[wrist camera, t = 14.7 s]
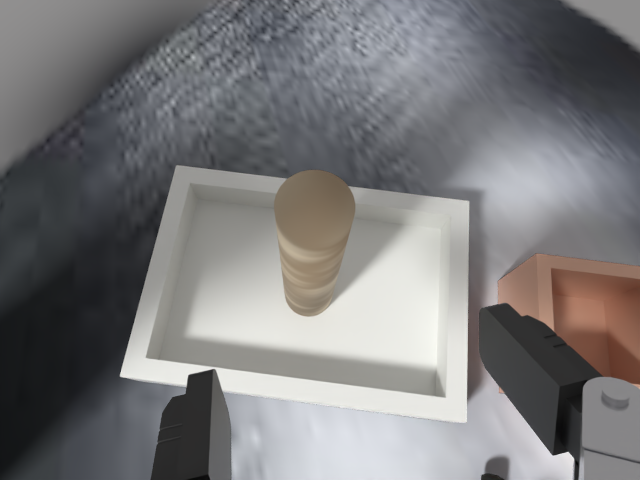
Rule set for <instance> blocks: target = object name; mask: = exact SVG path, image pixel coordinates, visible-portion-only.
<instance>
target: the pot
mask: <svg viewBox="0 0 640 480" xmlns="http://www.w3.org/2000/svg"><path fill="white" fill-rule="evenodd" d="M501 303H508V304H509V305H510V306H511V307H512V308H514V309H515V310H516V311H517V312H518V313H519V314H520V315H521V316H525V315H529V316H531V317H533V318H535V319H537V320H539V321H542V322H544V323H545V324H546V325H547V326H548V327H550V328H551V329H552V330H553V331H554V332H555V333H556V334H557V336H559V337H561V338H562V339H563V340H564V341H565V342H566V343H567V345H569V346H570V347H572V348H573V349H574V350H575V351H576V352H577V353H578V354H579V355H580V356H581V357H583V358H584V359H585V360H586V361H587V362H588V363H589V364H590V365H591V366H592V367H594V368H595V369H596V370H597V371H598V372H599V373H600V374H601V375H602V376H603V377H612V378H617V379H621V380H624V381H627V382H629V383H631V384H633V385H635V386H636V387H638V388H639V389H640V266H634V265H626V264H618V263H610V262H602V261H594V260H586V259H578V258H570V257H562V256H554V255H546V254H538V253H536V254H535V255H533V256H532V257H531V258H529V259H528V260H526V261H525V262H524V263H522V264H521V265H520V266H518V267H517V268H515V269H514V270H513V271H511V272H510V273H508V274H507V275H506V276H504V277H503V278H501V279H500V280H499V281H498V304H501ZM499 393H504V392H503V391H502V389H501V388H500V387H499ZM504 394H505V393H504Z"/></svg>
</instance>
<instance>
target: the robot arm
mask: <svg viewBox="0 0 640 480" xmlns="http://www.w3.org/2000/svg"><path fill="white" fill-rule="evenodd" d="M479 351H480V356H481V360H482V362H483V364H484V366H485V368H486V370H487V371H488V372H489V374H490V375H491V376H492V378H493V379H494V380H495V381H496V383H497V384H498V385H499V387H500V388H501V389H502V391H503V392H504V393H505V394H506V396H507V397H508V398H509V400H510V401H511V402H512V403H513V405H514V406H515V407H516V409H517V410H518V411H519V413H520V414H521V415H522V416H523V418H524V419H525V420H526V422H527V423H528V424H529V425H530V427H531V428H532V429H533V431H534V432H535V433H536V435H537V436H538V437H539V438H540V440H541V441H542V442H543V444H544V445H545V446H546V448H547V449H548V450H549V451H550V453H551V454H552V455H553V456H554V455H557V454H561V453H565V452H569V453H570V454H571V455H572V456H573V458H574V464H573V480H640V389H639V388H638V387H636V386H635V385H633V384H631V383H629V382H627V381H624V380H621V379H617V378H612V377H603V376H602V375H601V374H600V373H599V372H598V371H597V370H596V369H595V368H594V367H592V366H591V365H590V364H589V363H588V362H587V361H586V360H585V359H584V358H583V357H581V356H580V355H579V354H578V353H577V352H576V351H575V350H574V349H573V348H572V347H570V346H569V345H567V343H566V342H565V341H564V340H563V339H562V338H561V337H559V336H557V334H556V333H555V332H554V331H553V330H552V329H551V328H550V327H548V326H547V325H546V324H545V323H544V322H542V321H539V320H537V319H535V318H533V317H531V316H529V315H525V316H521V315H520V314H519V313H518V312H517V311H516V310H515V309H514V308H512V307H511V306H510V305H509V304H508V303H501V304H497V305H493V306H488V307H484V308H481V310H480V313H479ZM151 480H231V424H230V417H229V412H228V408H227V405H226V401H225V398H224V395H223V391H222V388H221V385H220V381H219V378H218V375H217V372H216V370H215V369H211V370H207V371H202V372H198V373H194V374H189V375H188V379H187V388H186V394H184V395H180V396H176V397H172V399H171V400H170V402H169V403H168V405H167V406H166V408H165V409H164V411H163V413H162V418H161V424H160V431H159V435H158V444H157V447H156V452H155V458H154V464H153V470H152V475H151Z"/></svg>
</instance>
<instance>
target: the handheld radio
mask: <svg viewBox="0 0 640 480" xmlns="http://www.w3.org/2000/svg"><path fill="white" fill-rule="evenodd" d="M481 480H503V479H502V478H500V477H499V476H497V475H493V474H483V475H482V476H481Z"/></svg>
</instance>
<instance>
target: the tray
mask: <svg viewBox="0 0 640 480" xmlns="http://www.w3.org/2000/svg"><path fill="white" fill-rule="evenodd" d="M286 180H287V179H286V178H277V177H269V176H261V175H253V174H245V173H237V172H229V171H220V170H212V169H204V168H196V167H188V166H180V165H176V168H175V172H174V175H173V179H172V183H171V187H170V190H169V194H168V198H167V202H166V205H165V209H164V213H163V216H162V220H161V224H160V228H159V231H158V235H157V239H156V243H155V246H154V250H153V254H152V257H151V261H150V265H149V269H148V272H147V276H146V280H145V284H144V287H143V291H142V295H141V298H140V302H139V306H138V310H137V313H136V317H135V321H134V325H133V328H132V332H131V336H130V339H129V343H128V347H127V351H126V354H125V358H124V362H123V366H122V369H121V373H120V377H124V378H128V379H133V380H137V381H143V382H151V383H158V384H166V385H173V386H181V387H187V379H188V375H189V374H194V373H198V372H202V371H207V370H211V369H215V370H216V372H217V375H218V378H219V381H220V385H221V388H222V391H223V392H226V393H233V394H241V395H248V396H256V397H263V398H271V399H278V400H286V401H293V402H301V403H308V404H316V405H323V406H331V407H338V408H346V409H353V410H361V411H368V412H376V413H383V414H391V415H398V416H406V417H413V418H421V419H428V420H436V421H443V422H455V423H467V352H468V269H469V201H465V200H457V199H449V198H440V197H432V196H424V195H416V194H408V193H400V192H392V191H383V190H375V189H367V188H359V187H351V186H348V187H349V188H350V190H351V191H352V194H353V196H354V200H355V215H354V219H353V223H352V226H351V230H350V234H349V237H348V241H347V245H346V248H345V252H344V256H343V259H342V263H341V266H340V270H339V274H338V277H337V281H336V285H335V288H334V292H333V296H332V299H331V302H330V304H329V306H328V307H327V309H326V310H325V311H323V312H322V313H320V314H318V315H316V316H310V317H307V316H301V315H299V314H297V313H295V312H294V311H293V310H291V308H290V307H289V306H288V304H287V302H286V299H285V293H284V285H283V277H282V269H281V261H280V253H279V245H278V237H277V229H276V221H275V212H274V200H275V196H276V194H277V191H278V190H279V188H280V186H281V185H282V184H283V183H284V182H285V181H286Z"/></svg>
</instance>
